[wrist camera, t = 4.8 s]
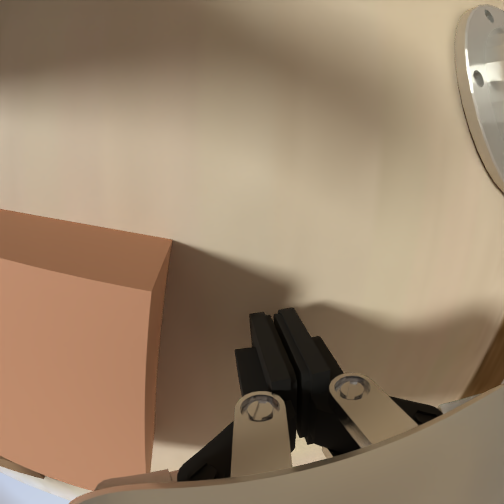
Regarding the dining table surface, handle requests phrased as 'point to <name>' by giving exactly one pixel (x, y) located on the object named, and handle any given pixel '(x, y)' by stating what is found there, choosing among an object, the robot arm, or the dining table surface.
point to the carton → (79, 347)
